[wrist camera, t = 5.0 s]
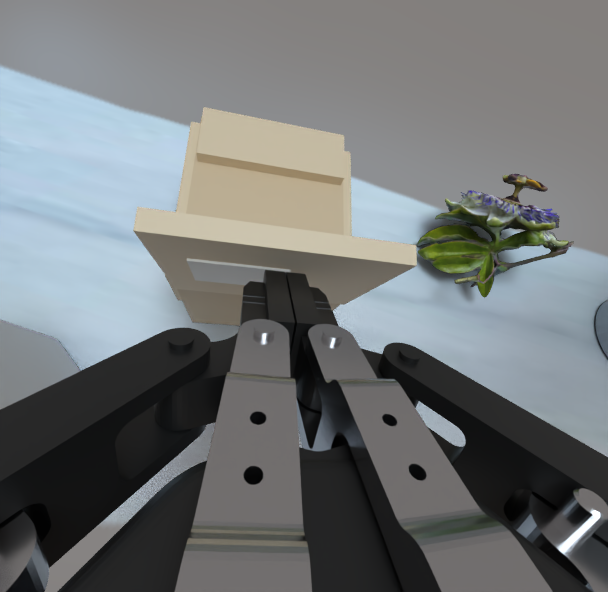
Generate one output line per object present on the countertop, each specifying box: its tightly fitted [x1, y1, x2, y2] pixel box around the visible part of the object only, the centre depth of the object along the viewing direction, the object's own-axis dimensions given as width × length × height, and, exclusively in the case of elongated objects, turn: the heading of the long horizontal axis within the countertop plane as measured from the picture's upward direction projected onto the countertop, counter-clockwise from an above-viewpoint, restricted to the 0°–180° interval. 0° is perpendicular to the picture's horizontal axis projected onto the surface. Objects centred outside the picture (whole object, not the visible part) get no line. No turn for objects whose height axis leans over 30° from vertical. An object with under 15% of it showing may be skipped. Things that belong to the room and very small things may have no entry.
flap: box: [133, 207, 417, 304], centre depth 15 cm, size 10×8×1 cm
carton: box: [165, 107, 352, 326], centre depth 25 cm, size 11×12×11 cm
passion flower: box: [417, 174, 573, 298], centre depth 33 cm, size 11×11×12 cm
